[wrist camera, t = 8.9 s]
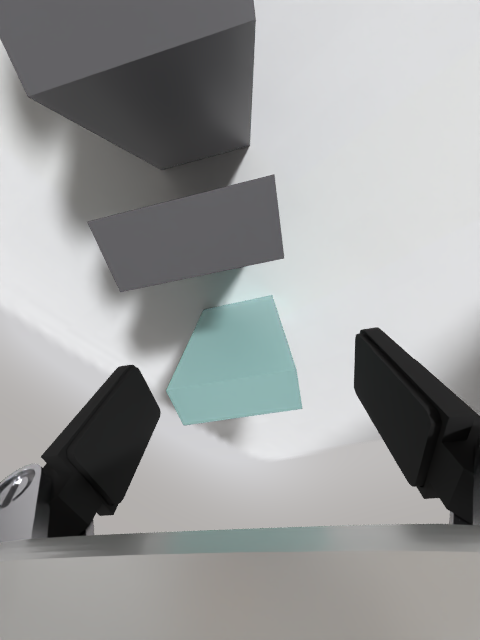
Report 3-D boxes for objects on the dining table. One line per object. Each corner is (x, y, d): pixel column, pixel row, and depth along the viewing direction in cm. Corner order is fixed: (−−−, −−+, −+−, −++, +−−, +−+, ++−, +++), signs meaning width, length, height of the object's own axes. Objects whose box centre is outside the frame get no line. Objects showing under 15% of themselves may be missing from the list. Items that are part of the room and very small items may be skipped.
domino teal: (203, 309, 15) (166, 390, 8) (272, 295, 15) (296, 369, 8) (211, 333, 16) (183, 425, 9) (276, 320, 16) (302, 408, 8)
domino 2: (176, 218, 13) (86, 221, 6) (258, 198, 12) (274, 174, 5) (186, 252, 14) (120, 292, 7) (263, 235, 13) (284, 258, 6)
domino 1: (147, 123, 11) (-43, -53, 4) (242, 95, 10) (232, -177, 3) (161, 169, 12) (28, 96, 5) (249, 145, 11) (255, 18, 4)
